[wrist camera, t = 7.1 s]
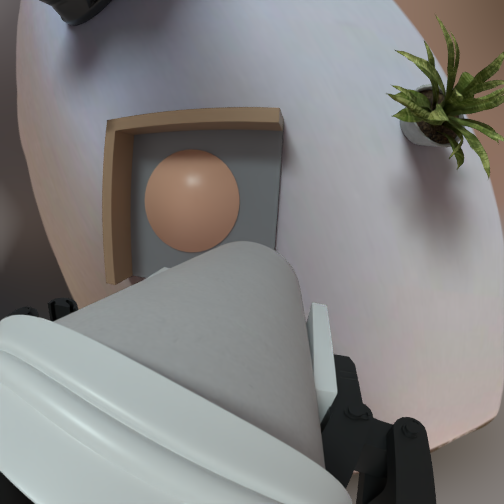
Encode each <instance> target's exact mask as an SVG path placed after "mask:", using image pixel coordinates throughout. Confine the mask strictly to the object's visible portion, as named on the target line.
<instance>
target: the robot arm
mask: <svg viewBox="0 0 504 504" xmlns="http://www.w3.org/2000/svg"><path fill="white" fill-rule="evenodd" d="M40 1H42V2H44V3H46V4H49V5H51V6H52V7H53V8H54V9H55V11H56V12H57V13H58V14H59V15H60V16H61V19H62V20H63V21H64V22H66V23H68V24H70V25H79V24H82V23H84V22H86V21H87V20H89V19H91V18H92V17H93V16H95V15H96V14H97V13H99V12H100V11H101V10H102V9H103V8H104V7H105V6H106V5H107V4H108V3H109V2H110V1H111V0H40ZM167 269H170V268H166V267H164V268H162V269H160V270H159V271H157V272H156V273H154V274H152V275H151V276H149V277H148V278H150V277H152V276H154V275H156V274H159V273H161V272H163V271H165V270H167ZM148 278H146V279H148ZM48 308H49V313H50V319H51V321H52V322H54V321H56V320H58V319H60V318H62V317H64V316H67V315H69V314H71V313H73V312H75V311H77V310H78V308H77V304H76V302H75V301H74V300H72V299H69V298H57V299H54V300H51V301H50V302H49V303H48ZM12 315H29V316H35V317H39V314H38V312H37V310H36V309H34V308H32V307H22V308H19V309H17V310H15V311H14V312H12V313H11V314H9V315H8V316H7V317H9V316H12ZM5 318H6V317H5ZM3 319H4V318H3ZM3 319H2V320H3ZM306 327H307V334H308V340H309V347H310V354H311V361H312V368H313V375H314V382H315V389H316V397H317V404H318V412H319V420H320V428H321V436H322V444H323V453H324V462H325V470H326V471H328V472H329V473H330V474H331V475H333V476H334V477H335V478H336V479H337V480H338V481H339V482H340V483H341V484H342V485H343V487H344V488H345V489H346V487H347V485H348V483H349V481H350V478H351V476H352V474H353V471H354V470H355V471H358V472H359V482H358V492H357V500H356V504H436V494H435V485H434V476H433V468H432V461H431V455H430V448H429V443H428V437H427V432H426V430H425V427H424V426H423V425H422V424H421V423H420V422H419V421H417V420H416V419H413V418H410V417H402V418H400V419H397V421H396V422H395V423H394V424H393V425H392V424H389V423H386V422H383V421H380V420H377V419H375V418H373V414H372V412H371V410H370V409H369V408H368V407H367V406H366V405H365V404H363V403H362V398H361V392H360V387H359V382H358V377H357V374H356V373H357V372H356V367H355V364H354V363H353V361H352V360H351V359H350V358H349V357H347V356H341V355H335V354H333V347H332V339H331V331H330V324H329V317H328V310H327V305H323V304H318V303H314V302H312V305H311V309H310V312H309V316H308V319H307V323H306ZM0 504H35V503H34V502H32V501H31V500H30V499H29V498H28V497H27V496H26V495H24V494H23V493H22V492H21V491H20V490H19V489H18V488H17V487H16V486H15V485H14V484H13V483H12V482H11V481H10V480H9V479H8V478H7V477H6V476H5V475H4V474H3V473H2V472H1V471H0Z"/></svg>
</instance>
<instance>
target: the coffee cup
mask: <svg viewBox="0 0 504 504" xmlns="http://www.w3.org/2000/svg"><path fill="white" fill-rule="evenodd" d="M0 471H1V472H2V473H3V474H4V475H5V476H6V477H7V478H8V479H9V480H10V481H11V482H12V483H13V484H14V485H15V486H16V487H17V488H18V489H19V490H20V491H21V492H22V493H23V494H24V495H26V496H27V497H28V498H29V499H30V500H31V501H32V502H34V503H35V504H353V503H352V500H351V497H350V495H349V494H348V492H347V491H346V489H345V488H344V487H343V485H342V484H341V483H340V482H339V481H338V480H337V479H336V478H335V477H334V476H333V475H331V474H330V473H329V472H328V471H326V470H325V462H324V453H323V444H322V436H321V428H320V420H319V412H318V404H317V397H316V389H315V382H314V375H313V368H312V361H311V354H310V347H309V340H308V334H307V327H306V321H305V315H304V309H303V303H302V297H301V291H300V286H299V282H298V279H297V276H296V274H295V272H294V270H293V269H292V267H291V266H290V264H289V263H288V262H287V261H286V260H285V259H284V258H283V257H282V256H281V255H280V254H279V253H277V252H276V251H274V250H273V249H271V248H269V247H267V246H265V245H262V244H259V243H255V242H249V241H237V242H231V243H227V244H224V245H221V246H219V247H217V248H214V249H212V250H210V251H208V252H205V253H203V254H201V255H199V256H196V257H194V258H192V259H190V260H188V261H185V262H183V263H181V264H179V265H176V266H174V267H172V268H170V269H167V270H165V271H163V272H161V273H159V274H156V275H154V276H152V277H150V278H148V279H145V280H143V281H141V282H139V283H137V284H134V285H132V286H130V287H128V288H126V289H123V290H121V291H119V292H117V293H115V294H112V295H110V296H108V297H106V298H104V299H102V300H99V301H97V302H95V303H93V304H91V305H88V306H86V307H84V308H82V309H80V310H77V311H75V312H73V313H71V314H69V315H67V316H64V317H62V318H60V319H58V320H56V321H54V322H52V321H49V320H46V319H43V318H39V317H35V316H29V315H12V316H9V317H6V318H4V319H3V320H1V321H0Z"/></svg>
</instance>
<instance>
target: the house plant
mask: <svg viewBox="0 0 504 504" xmlns="http://www.w3.org/2000/svg"><path fill="white" fill-rule="evenodd" d="M436 18H437V20H438V21H439V24H440V26H441V28H442V30H443V33H444V36H445V39H446V42H447V48H448V67H447V70H448V80H447V90H445V88H444V85H443V82H442V80H441V77H440V75H439V74H438V72H437V70H436V69H435V62H434V57H433V55H432V52H431V50H430V48H429V46H428V45H427V43H426V42H425V41H424V43H425V46H426V49H427V54H428V61H429V62H428V61H426V60H424V59H422V58H419V57H416V56H414V55H412V54H409V53H407V52H404V51H397V52H398V53H400V54H402V55H403V56H405V57H407V58H408V59H409V60H410V61H412V62H414V63H415V64H416V65H417V67H418V68H419V69H420V70H421V71H422V72H423V73H424V74H425V75H426V76H427V77H428V78H429V79H430V81H431V84H428V85H422V86H420V87H418V88H417V89H416V90H415V91H414V90H407V89H404V88H402V87H399V86H393V85H392V86H393V87H395V88H396V89H398V90H400V91H401V92H400V93H398V94H396V95H392V94H388V95H389V96H390V97H391V98H392V99H394V100H395V101H397V102H399V103H401V104H402V105H404V106H406V107H405V108H404V109H402V110H401V111H399V112H398V113H397V114H395V115H393V116H392V117H396V118H398V119H400V126H401V129H402V132H403V133H404V135H405V136H406V137H407V139H408V140H409V141H411V142H412V143H414V144H417V145H422V146H435V147H452V150H453V152H452V154H451V156H450V157H449V159H450V158H451V157H452V156H453V155H455V157H456V160H457V164H458V168H459V167H460V166H461V165H462V164H463V163H464V154H463V151H462V149H461V146H462V144H463V135H464V137H465V138H466V140H467V141H468V143H469V145H470V147H471V148H472V149H473V150H474V151H475V152H476V153H477V154H478V156H479V157H480V159H481V161H482V164H483V166H484V169H485V171H486V173H487V175H488V180H489V176H490V165H489V160H488V157H487V154H486V152H485V150H484V148H483V147H482V145H481V143H480V142H479V140H478V139H477V137H476V136H475V135H474V134H472V133H471V132H469V131H468V130H466V129H465V128H464V126H468V127H471V128H474V129H477V130H479V131H480V132H482V133H484V134H485V135H487V136H488V137H490V138H491V139H493V140H495V141H497V142H498V139H499V140H502V141H504V138H503V137H502V136H501V135H499V134H498V133H496V132H495V130H494V129H493V128H492V127H490V126H489V125H487V124H484V123H481V122H479V121H475V120H471V119H464V116H463V114H472V113H476V112H480V111H483V110H488V109H492V108H494V107H497V106H499V105H500V104H502V103H503V102H504V95H503V94H504V88H502V89H499V90H496V91H494V92H493V93H491V94H489V95H486V96H484V97H480V98H474V94H476V93H479V92H482V91H485V90H488V89H492V88H494V87H496V86H498V85H501V84H504V81H503V80H493V81H488V82H485V81H486V80H487V79H489V78H490V77H491V76H493V75H494V74H495V73H496V72H497V71H498V70H499V68H500V66H501V64H502V61H503V59H504V52H503V53H501V54H500V55H499V56H498V58H496V59H495V60H494V61H493V62H492V63H491V64H490V65H488V66H487V67H486V68H484V69H483V70H482V71H480V72H479V73H478V74H477V75H476V76H475V77H473V76H471V75H470V74H469V73H467V72H464V73H462V75H461V77H460V79H459V82H458V83H457V85H456V86H455V87H454V88H453V86H454V82H455V77H456V73H457V68H458V64H459V47H458V44H457V42H456V40H455V38H454V36H453V34H452V33H451V34H452V37H453V40H454V43H455V49H456V60H455V66H454V47H453V42H452V40H451V38H450V36H449V34H448V32H447V30H446V29H445V27H444V25H443V23H442V22H441V21H440V20H439V18H438V17H437V16H436ZM395 51H396V50H395ZM453 70H454V71H453ZM390 85H391V84H390ZM438 85H439V86H438ZM452 89H453V90H452ZM501 95H503V96H501ZM460 140H461V141H460ZM459 141H460V143H459V144H458V142H459ZM458 168H457V169H458Z"/></svg>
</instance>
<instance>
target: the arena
mask: <svg viewBox="0 0 504 504" xmlns="http://www.w3.org/2000/svg"><path fill="white" fill-rule="evenodd" d="M283 122H284V119H283V116H282V113H281V110H280V108H266V107H227V108H203V109H188V110H176V111H166V112H157V113H149V114H142V115H135V116H129V117H123V118H117V119H112V120H107V127H106V137H105V148H104V163H103V188H102V222H103V247H104V262H105V274H106V283H109V284H113V285H116V284H118V283H120V282H121V281H123V280H125V279H127V278H129V277H131V276H132V275H133V276H139V277H145V278H148V277H149V276H151V275H152V274H154V273H156V272H157V271H159V270H160V269H162V268H164V267H166V268H172V267H174V266H176V265H179V264H181V263H183V262H185V261H188V260H190V259H192V258H194V257H196V256H199V255H201V254H203V253H205V252H208V251H210V250H212V249H214V248H217V247H219V246H221V245H224V244H227V243H231V242H237V241H249V242H255V243H259V244H262V245H265V246H267V247H269V248H271V249H273V250H274V251H275V239H276V227H277V214H278V200H279V186H280V172H281V156H282V140H283Z"/></svg>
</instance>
